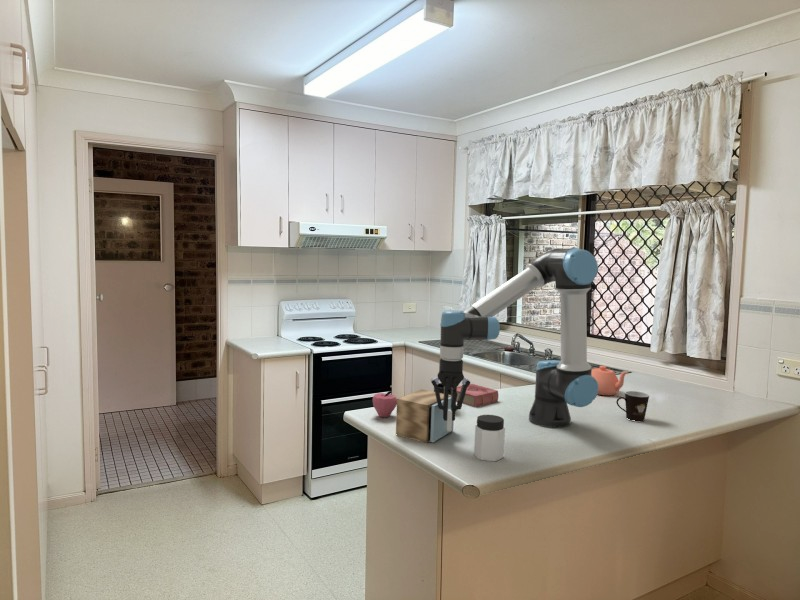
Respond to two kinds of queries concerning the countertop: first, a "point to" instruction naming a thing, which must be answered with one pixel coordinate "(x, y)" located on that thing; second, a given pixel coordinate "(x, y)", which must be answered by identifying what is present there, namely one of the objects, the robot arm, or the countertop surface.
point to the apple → (384, 403)
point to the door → (438, 422)
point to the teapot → (607, 380)
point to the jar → (489, 438)
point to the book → (478, 395)
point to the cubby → (416, 415)
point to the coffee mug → (635, 405)
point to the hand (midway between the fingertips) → (448, 430)
